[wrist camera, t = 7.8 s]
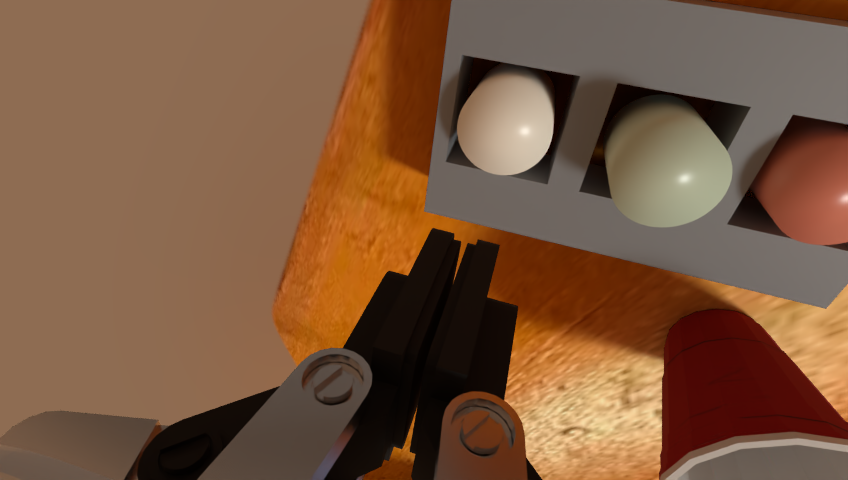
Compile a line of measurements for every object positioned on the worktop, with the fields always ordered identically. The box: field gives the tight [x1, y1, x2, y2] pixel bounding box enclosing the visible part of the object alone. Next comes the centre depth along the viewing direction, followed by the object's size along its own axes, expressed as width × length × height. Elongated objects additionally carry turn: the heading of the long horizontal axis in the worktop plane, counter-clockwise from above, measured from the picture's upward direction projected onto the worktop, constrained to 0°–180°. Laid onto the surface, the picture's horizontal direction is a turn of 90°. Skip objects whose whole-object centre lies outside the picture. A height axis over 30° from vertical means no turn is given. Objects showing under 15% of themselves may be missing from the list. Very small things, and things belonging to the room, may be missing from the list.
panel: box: [424, 0, 848, 309], centre depth 22 cm, size 12×21×4 cm, turn 83°
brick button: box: [749, 115, 848, 245], centre depth 20 cm, size 4×4×5 cm
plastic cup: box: [659, 309, 848, 480], centre depth 25 cm, size 11×11×12 cm
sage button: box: [603, 94, 732, 228], centre depth 20 cm, size 4×4×5 cm
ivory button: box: [457, 63, 556, 175], centre depth 22 cm, size 4×4×5 cm
